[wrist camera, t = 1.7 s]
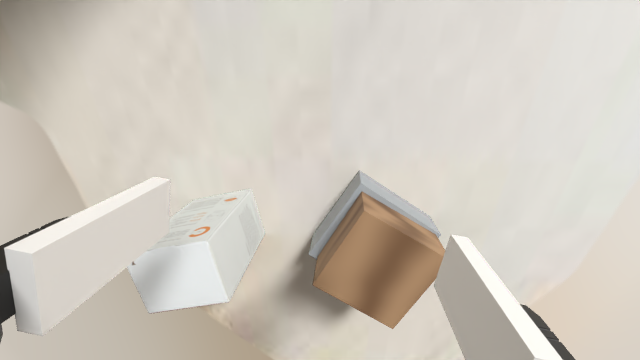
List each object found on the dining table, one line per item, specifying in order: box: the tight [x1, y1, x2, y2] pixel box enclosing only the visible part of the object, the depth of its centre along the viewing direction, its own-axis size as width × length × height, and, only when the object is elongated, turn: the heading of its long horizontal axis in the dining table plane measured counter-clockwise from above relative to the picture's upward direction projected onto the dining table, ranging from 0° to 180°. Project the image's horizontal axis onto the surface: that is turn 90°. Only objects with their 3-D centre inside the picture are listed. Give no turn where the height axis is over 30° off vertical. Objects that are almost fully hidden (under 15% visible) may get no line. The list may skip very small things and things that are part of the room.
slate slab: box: [309, 171, 441, 259], centre depth 35 cm, size 10×10×5 cm
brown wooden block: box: [313, 191, 445, 329], centre depth 31 cm, size 9×9×5 cm
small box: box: [127, 189, 265, 314], centre depth 33 cm, size 8×6×13 cm
